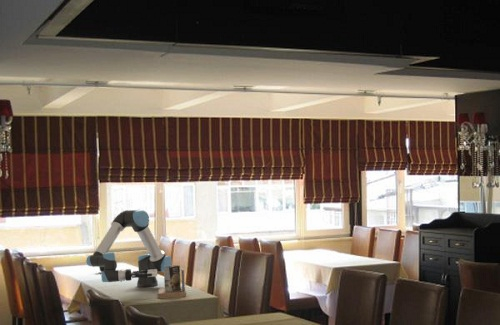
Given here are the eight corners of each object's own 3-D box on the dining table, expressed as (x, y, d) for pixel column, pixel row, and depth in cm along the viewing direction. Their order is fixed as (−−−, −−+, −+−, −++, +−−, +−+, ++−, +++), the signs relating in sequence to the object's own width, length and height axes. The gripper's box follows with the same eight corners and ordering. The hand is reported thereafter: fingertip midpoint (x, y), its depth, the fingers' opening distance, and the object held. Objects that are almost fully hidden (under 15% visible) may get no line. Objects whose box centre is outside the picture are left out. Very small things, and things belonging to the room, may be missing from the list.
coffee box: (171, 291, 477) (169, 267, 477) (164, 290, 481) (163, 266, 482) (181, 289, 484) (179, 265, 484) (174, 288, 488) (173, 265, 489)
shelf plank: (159, 293, 492) (158, 288, 492) (185, 291, 494) (185, 286, 495) (158, 298, 471) (158, 293, 471) (186, 296, 473) (186, 291, 473)
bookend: (182, 287, 491) (181, 267, 492) (184, 287, 491) (183, 266, 492) (182, 291, 475) (181, 270, 476) (184, 291, 476) (183, 269, 476)
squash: (99, 265, 629) (99, 253, 619) (116, 264, 632) (116, 253, 622) (99, 277, 618) (99, 266, 608) (117, 277, 621) (117, 265, 612)
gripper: (126, 278, 491) (157, 275, 494) (124, 283, 467) (157, 281, 469) (125, 267, 492) (157, 264, 494) (123, 272, 467) (156, 269, 469)
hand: (157, 272), depth 482 cm, fingers open, 13 cm apart
